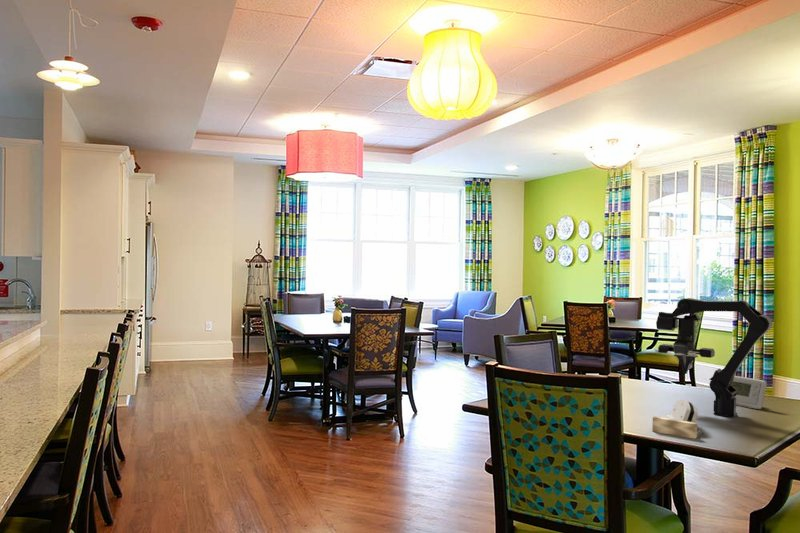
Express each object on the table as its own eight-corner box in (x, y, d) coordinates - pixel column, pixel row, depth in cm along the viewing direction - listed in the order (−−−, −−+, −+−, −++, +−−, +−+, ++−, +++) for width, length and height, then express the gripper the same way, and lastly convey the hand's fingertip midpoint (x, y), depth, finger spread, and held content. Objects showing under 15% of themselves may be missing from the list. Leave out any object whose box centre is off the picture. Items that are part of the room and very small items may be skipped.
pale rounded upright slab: (664, 419, 230) (675, 393, 229) (677, 425, 229) (688, 398, 228) (674, 432, 213) (686, 403, 212) (689, 438, 212) (701, 409, 211)
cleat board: (702, 433, 212) (702, 419, 212) (695, 438, 206) (695, 424, 206) (659, 426, 220) (660, 412, 220) (652, 431, 214) (652, 417, 214)
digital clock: (718, 401, 261) (718, 374, 260) (735, 400, 264) (735, 373, 264) (753, 411, 245) (754, 382, 245) (771, 409, 249) (771, 381, 249)
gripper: (653, 331, 246) (652, 373, 247) (707, 336, 235) (706, 380, 235) (663, 329, 255) (662, 369, 255) (715, 333, 243) (714, 375, 244)
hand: (685, 373), depth 247 cm, fingers closed
